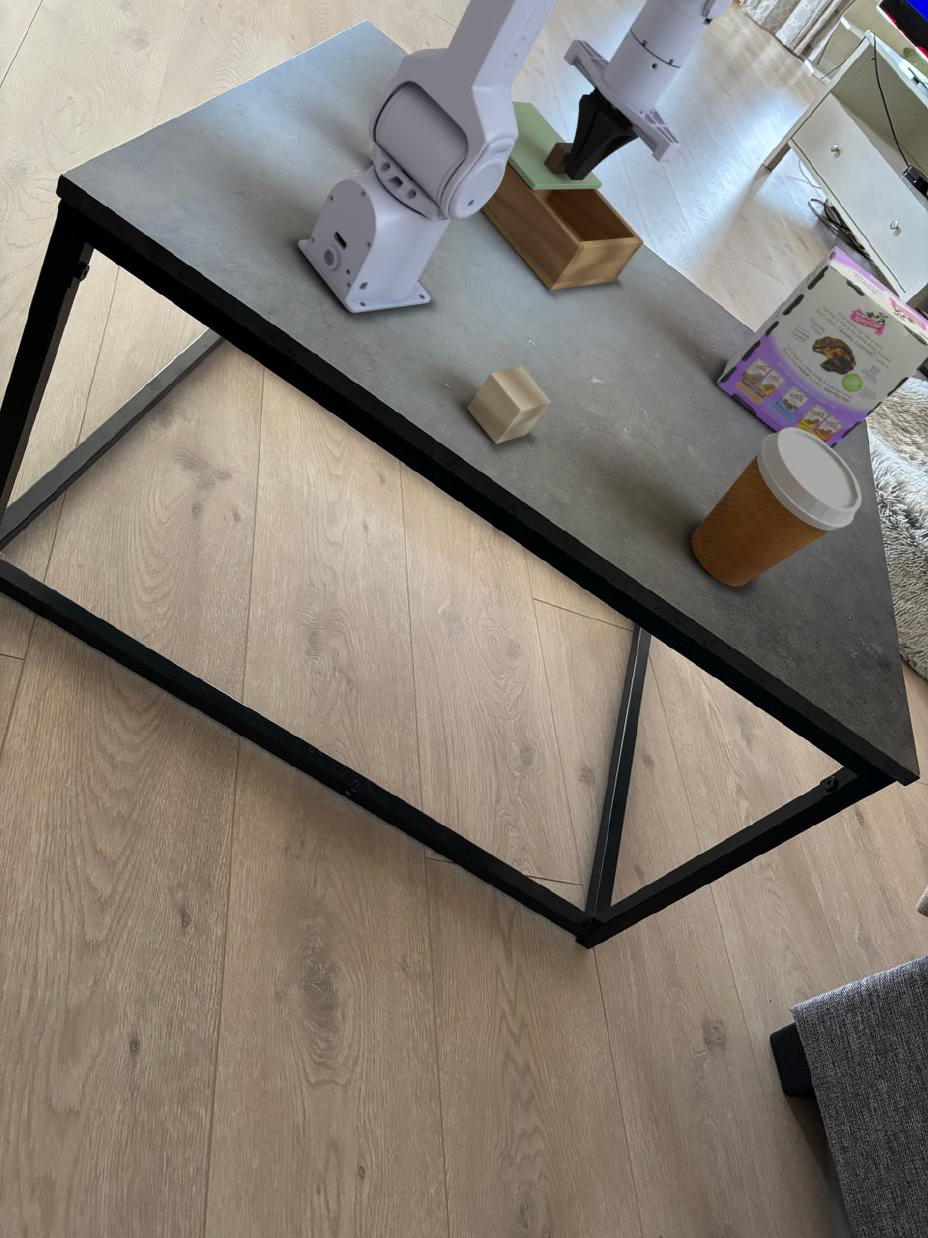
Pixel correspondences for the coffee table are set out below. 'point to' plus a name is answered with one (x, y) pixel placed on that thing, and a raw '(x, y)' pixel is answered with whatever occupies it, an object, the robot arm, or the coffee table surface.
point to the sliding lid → (543, 153)
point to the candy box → (828, 353)
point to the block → (508, 404)
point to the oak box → (562, 232)
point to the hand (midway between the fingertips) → (573, 175)
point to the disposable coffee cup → (776, 507)
